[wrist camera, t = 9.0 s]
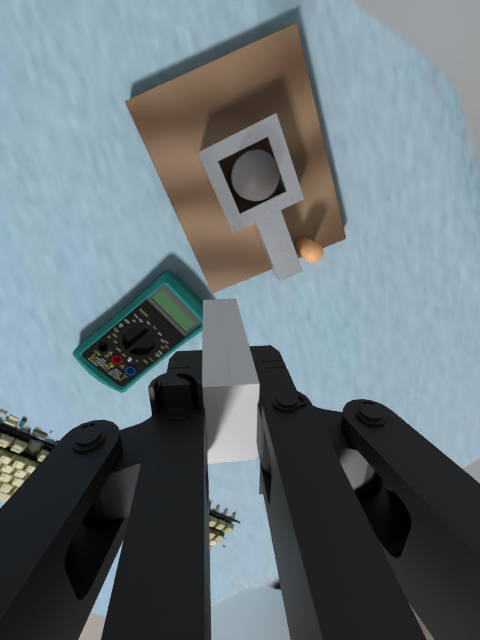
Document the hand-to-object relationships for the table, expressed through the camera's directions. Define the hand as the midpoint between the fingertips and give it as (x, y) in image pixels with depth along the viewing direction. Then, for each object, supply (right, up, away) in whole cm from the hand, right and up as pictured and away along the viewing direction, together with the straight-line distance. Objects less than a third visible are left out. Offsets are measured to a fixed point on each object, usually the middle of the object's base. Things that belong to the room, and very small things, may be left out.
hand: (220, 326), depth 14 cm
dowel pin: (+7, +8, +17) cm, 20 cm away
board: (+1, +14, +15) cm, 21 cm away
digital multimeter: (-10, -1, +21) cm, 23 cm away
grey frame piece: (+3, +11, +15) cm, 19 cm away
